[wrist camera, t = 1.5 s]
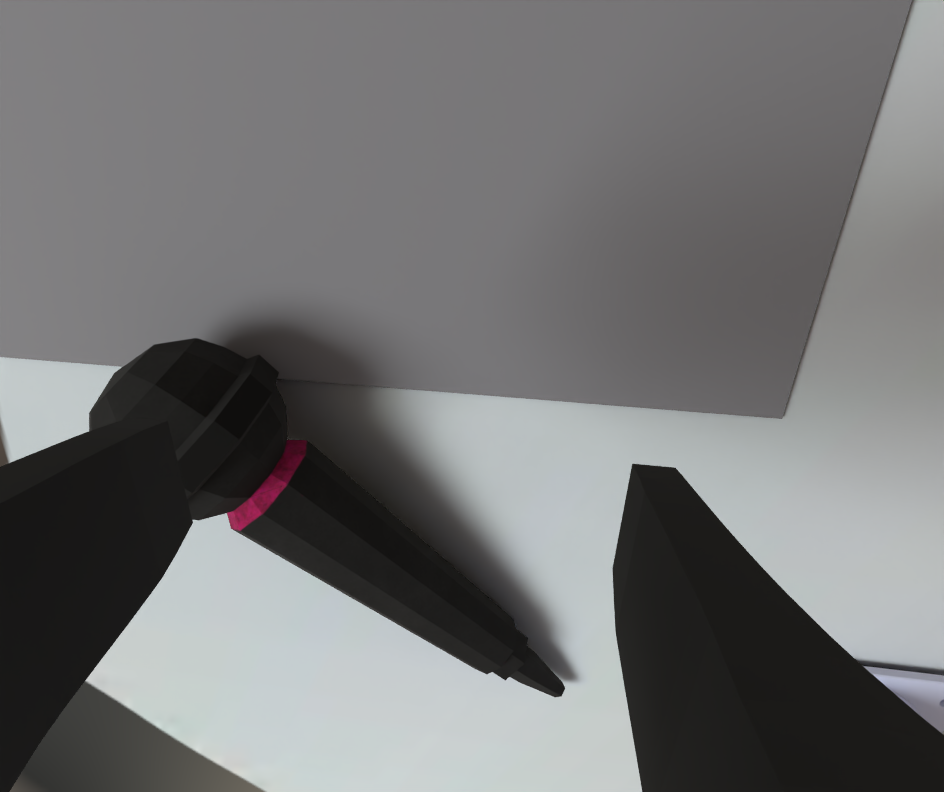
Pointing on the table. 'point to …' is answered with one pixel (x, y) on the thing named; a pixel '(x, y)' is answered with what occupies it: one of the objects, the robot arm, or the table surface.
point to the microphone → (307, 502)
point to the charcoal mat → (438, 187)
